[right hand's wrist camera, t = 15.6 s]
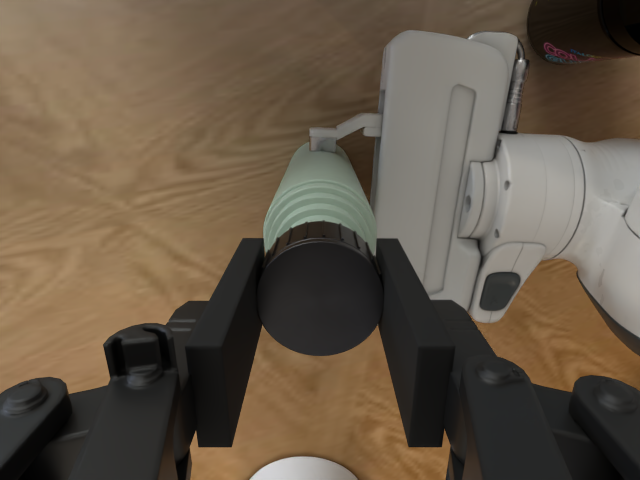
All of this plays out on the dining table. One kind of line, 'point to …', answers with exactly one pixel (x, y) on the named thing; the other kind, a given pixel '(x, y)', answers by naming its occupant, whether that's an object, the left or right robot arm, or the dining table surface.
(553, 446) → the right robot arm
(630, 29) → the supplement container
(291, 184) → the bottle
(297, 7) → the dining table surface
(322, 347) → the cap
